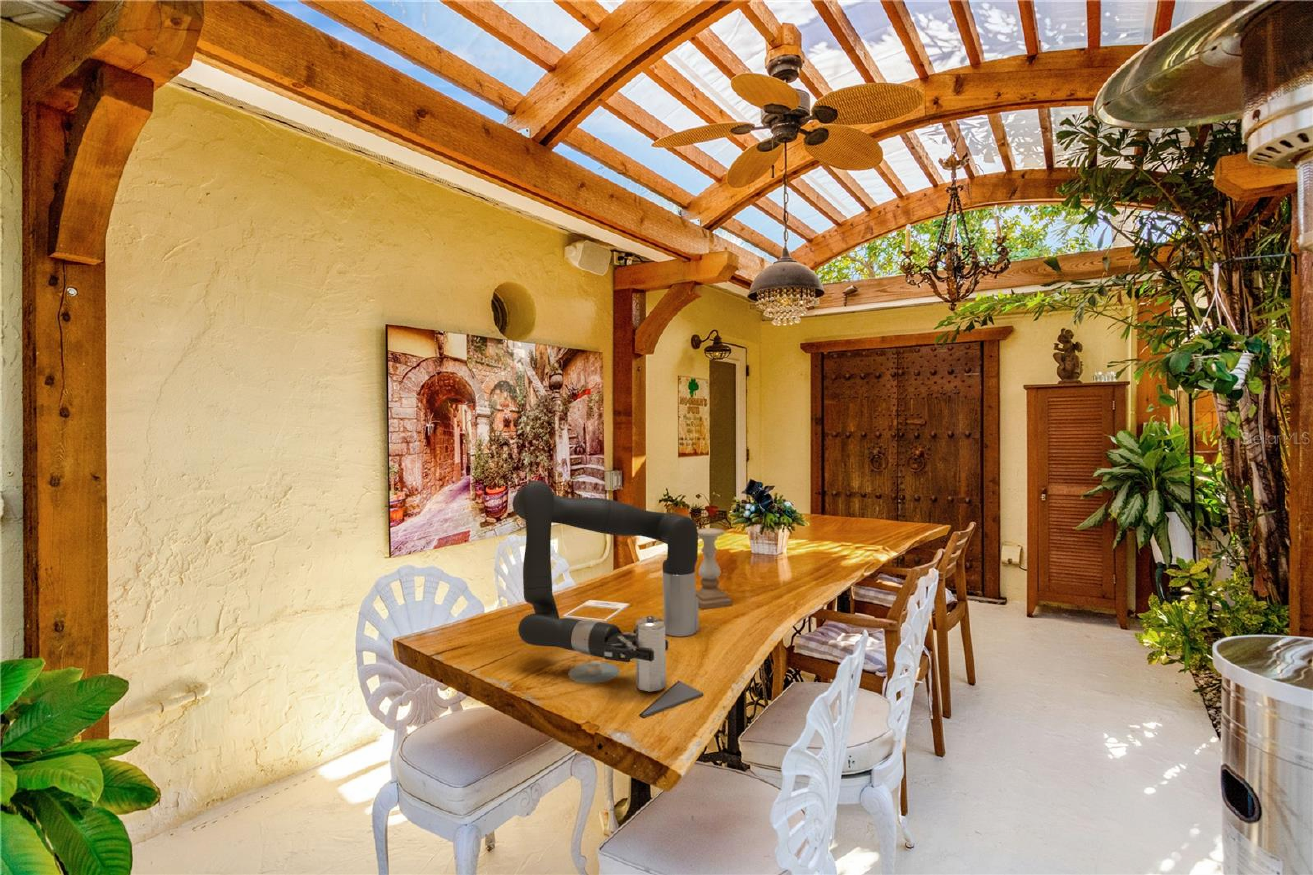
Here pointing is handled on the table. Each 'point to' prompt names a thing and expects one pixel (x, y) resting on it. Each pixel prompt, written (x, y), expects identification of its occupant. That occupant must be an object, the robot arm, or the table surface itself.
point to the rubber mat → (672, 698)
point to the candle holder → (710, 573)
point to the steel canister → (653, 638)
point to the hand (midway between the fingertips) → (660, 650)
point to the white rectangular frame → (601, 605)
